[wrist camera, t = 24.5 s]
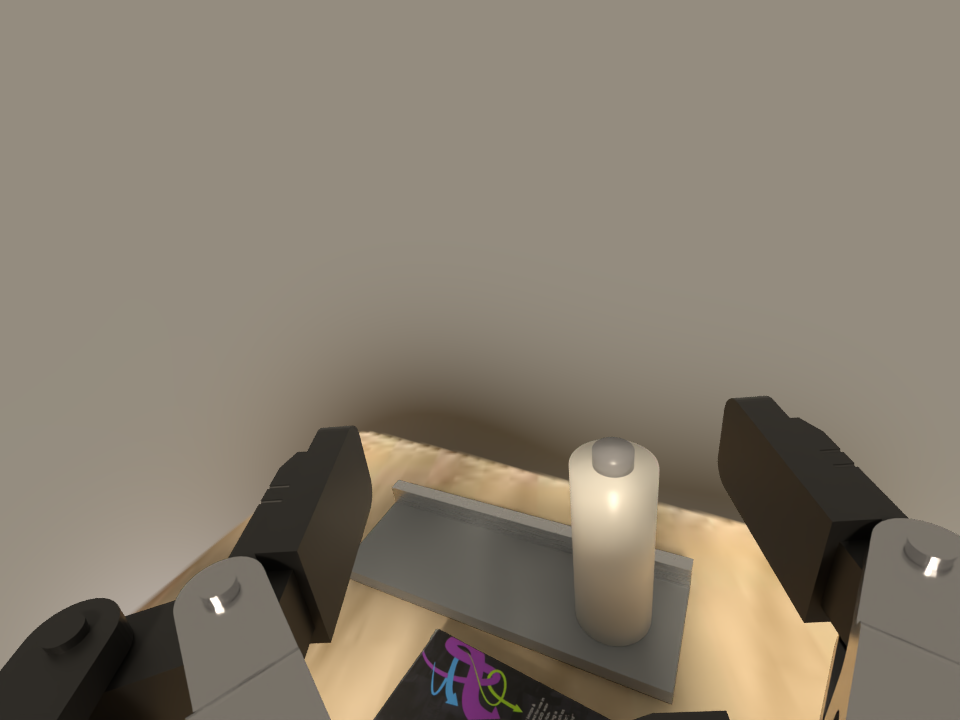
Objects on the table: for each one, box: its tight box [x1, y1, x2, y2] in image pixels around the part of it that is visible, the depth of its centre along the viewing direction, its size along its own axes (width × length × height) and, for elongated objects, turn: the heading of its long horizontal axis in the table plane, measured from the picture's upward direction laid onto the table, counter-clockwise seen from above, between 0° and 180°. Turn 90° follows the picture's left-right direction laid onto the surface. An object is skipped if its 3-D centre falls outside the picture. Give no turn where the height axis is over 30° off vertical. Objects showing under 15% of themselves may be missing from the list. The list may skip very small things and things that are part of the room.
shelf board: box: [350, 503, 691, 704], centre depth 44 cm, size 28×10×1 cm, turn 64°
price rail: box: [392, 480, 693, 589], centre depth 46 cm, size 28×1×2 cm, turn 64°
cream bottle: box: [569, 437, 659, 646], centre depth 36 cm, size 6×6×15 cm
